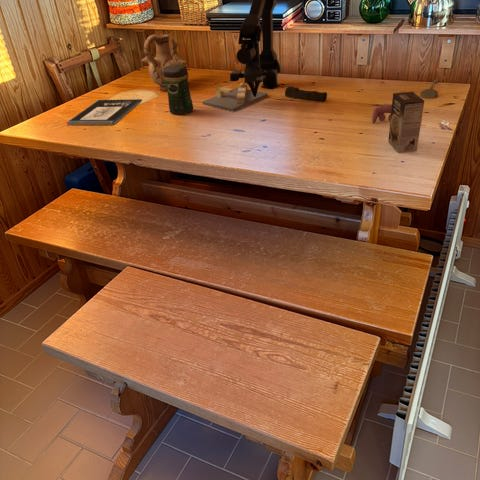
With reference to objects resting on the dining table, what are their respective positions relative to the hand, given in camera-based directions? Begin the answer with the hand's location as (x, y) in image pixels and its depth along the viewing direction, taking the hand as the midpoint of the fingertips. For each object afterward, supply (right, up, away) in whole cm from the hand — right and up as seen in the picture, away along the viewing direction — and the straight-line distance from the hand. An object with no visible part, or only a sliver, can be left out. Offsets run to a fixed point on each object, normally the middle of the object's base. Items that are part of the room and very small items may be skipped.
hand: (255, 96), depth 191 cm
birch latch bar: (-5, +3, +7) cm, 9 cm away
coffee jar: (-30, -6, +1) cm, 31 cm away
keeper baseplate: (-8, +1, +7) cm, 11 cm away
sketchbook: (-64, -5, +9) cm, 65 cm away
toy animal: (+46, -17, -26) cm, 56 cm away
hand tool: (+21, -1, +1) cm, 21 cm away
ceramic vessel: (-39, +14, +31) cm, 52 cm away
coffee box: (+46, -30, -44) cm, 70 cm away
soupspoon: (+72, +1, -3) cm, 72 cm away
